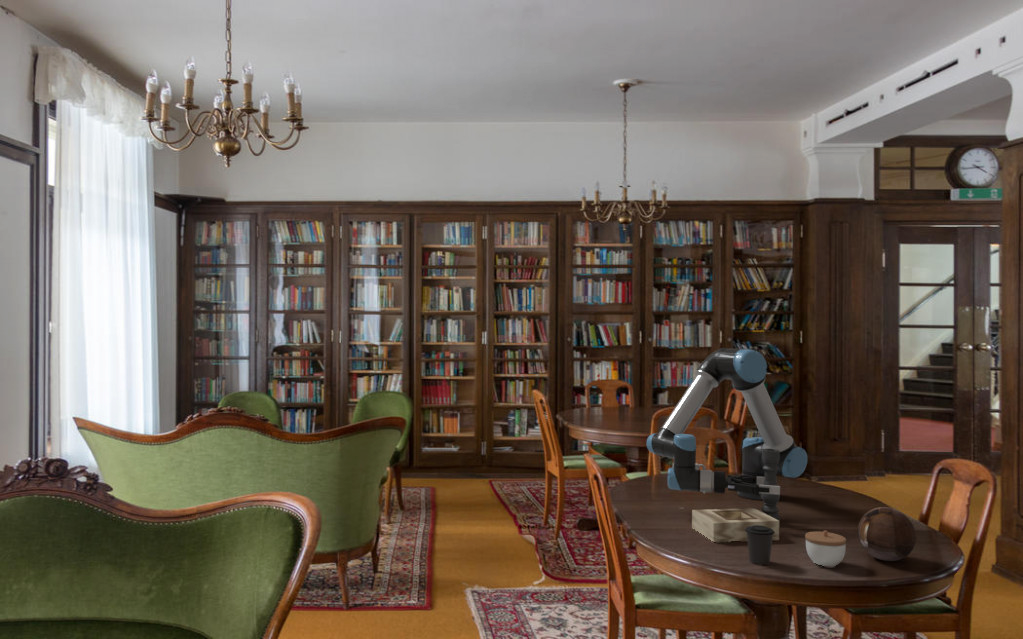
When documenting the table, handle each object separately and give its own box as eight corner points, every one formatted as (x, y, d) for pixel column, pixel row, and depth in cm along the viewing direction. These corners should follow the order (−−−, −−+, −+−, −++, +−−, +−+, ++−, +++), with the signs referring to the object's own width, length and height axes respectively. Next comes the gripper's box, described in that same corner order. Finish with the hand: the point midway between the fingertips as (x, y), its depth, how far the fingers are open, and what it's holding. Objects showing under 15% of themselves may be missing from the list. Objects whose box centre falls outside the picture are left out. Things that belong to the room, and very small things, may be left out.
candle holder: (777, 527, 246) (778, 452, 246) (758, 524, 249) (759, 450, 249) (781, 522, 251) (782, 449, 251) (762, 520, 254) (763, 447, 254)
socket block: (753, 525, 247) (753, 507, 247) (778, 539, 231) (779, 520, 231) (691, 528, 243) (692, 509, 243) (713, 542, 227) (713, 522, 227)
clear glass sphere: (906, 554, 219) (907, 503, 219) (922, 570, 204) (923, 516, 204) (852, 549, 222) (852, 500, 222) (864, 565, 207) (865, 512, 207)
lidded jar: (803, 556, 215) (803, 524, 215) (843, 560, 212) (843, 527, 212) (806, 567, 205) (807, 534, 205) (848, 572, 202) (849, 538, 202)
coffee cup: (739, 561, 209) (739, 526, 209) (752, 555, 215) (752, 521, 215) (767, 568, 204) (767, 532, 204) (779, 562, 210) (779, 527, 210)
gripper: (713, 484, 267) (774, 489, 261) (713, 500, 243) (781, 505, 237) (713, 464, 267) (775, 467, 261) (713, 478, 243) (781, 482, 237)
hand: (778, 486), depth 249 cm, fingers open, 13 cm apart
